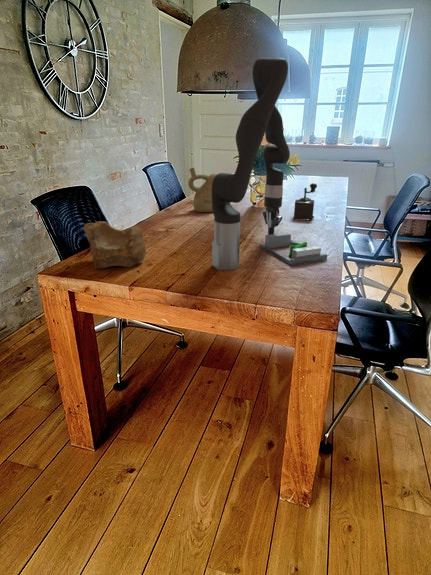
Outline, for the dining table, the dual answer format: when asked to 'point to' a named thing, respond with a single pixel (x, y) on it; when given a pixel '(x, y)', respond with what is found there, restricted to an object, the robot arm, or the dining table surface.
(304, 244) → the pipe clamp
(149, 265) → the dining table surface
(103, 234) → the rough brown rock
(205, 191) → the ceramic vessel
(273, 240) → the block
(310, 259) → the vise
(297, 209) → the manual coffee grinder
